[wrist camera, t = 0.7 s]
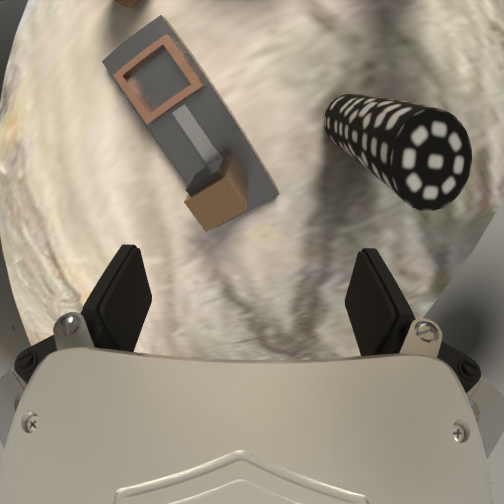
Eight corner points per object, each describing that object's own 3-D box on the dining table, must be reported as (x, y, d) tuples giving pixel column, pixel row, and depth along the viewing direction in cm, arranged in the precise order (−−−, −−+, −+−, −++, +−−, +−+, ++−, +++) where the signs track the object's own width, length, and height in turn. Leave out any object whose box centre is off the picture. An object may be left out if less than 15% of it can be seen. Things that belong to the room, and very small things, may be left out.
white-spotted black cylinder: (324, 150, 36) (384, 210, 19) (323, 92, 31) (394, 99, 14) (377, 152, 35) (461, 211, 19) (380, 97, 31) (476, 119, 14)
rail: (165, 18, 25) (130, -6, 15) (278, 189, 39) (287, 229, 29) (108, 62, 28) (58, 60, 18) (219, 220, 42) (208, 267, 32)
